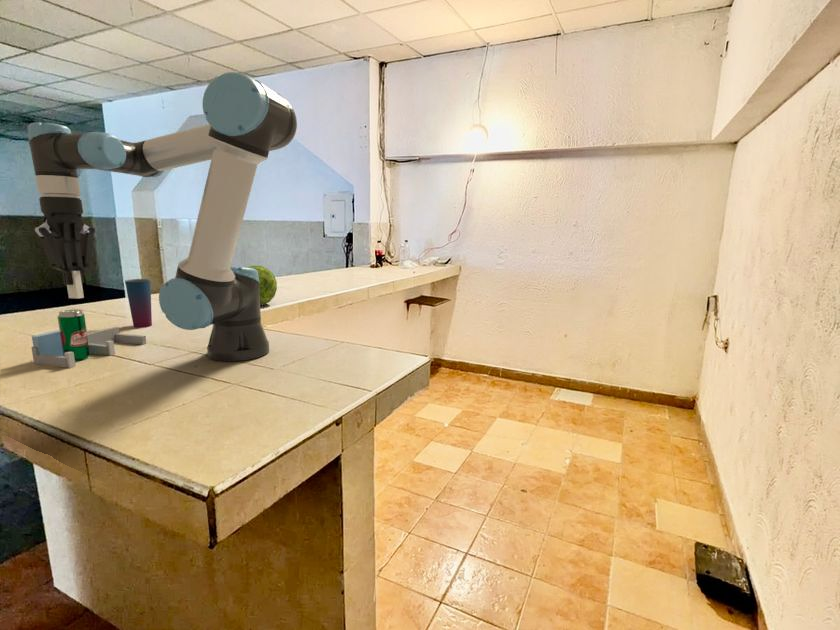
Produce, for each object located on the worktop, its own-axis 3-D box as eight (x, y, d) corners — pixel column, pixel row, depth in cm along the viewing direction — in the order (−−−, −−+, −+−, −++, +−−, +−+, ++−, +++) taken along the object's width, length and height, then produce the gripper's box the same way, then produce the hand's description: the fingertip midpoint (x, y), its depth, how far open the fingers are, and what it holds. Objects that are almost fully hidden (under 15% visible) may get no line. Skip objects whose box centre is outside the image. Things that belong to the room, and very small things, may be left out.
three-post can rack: (148, 343, 119) (145, 321, 118) (70, 367, 99) (66, 340, 97) (116, 340, 122) (113, 318, 120) (33, 363, 101) (29, 336, 100)
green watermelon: (250, 313, 191) (271, 284, 196) (265, 313, 172) (288, 281, 177) (217, 290, 183) (240, 261, 188) (229, 288, 164) (255, 256, 169)
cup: (159, 325, 140) (154, 280, 136) (136, 329, 134) (131, 282, 131) (148, 322, 143) (143, 278, 140) (126, 326, 137) (120, 280, 134)
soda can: (75, 362, 102) (68, 313, 100) (58, 360, 103) (51, 312, 101) (95, 356, 107) (89, 309, 105) (78, 354, 108) (72, 308, 106)
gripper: (75, 198, 105) (89, 293, 110) (15, 194, 92) (35, 301, 97) (100, 198, 103) (113, 294, 108) (43, 194, 91) (61, 303, 96)
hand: (76, 297), depth 103 cm, fingers closed
